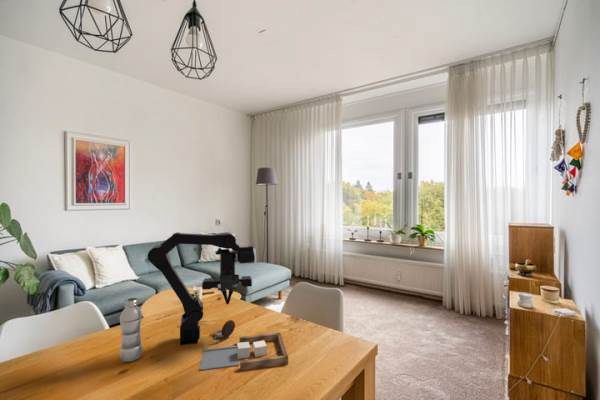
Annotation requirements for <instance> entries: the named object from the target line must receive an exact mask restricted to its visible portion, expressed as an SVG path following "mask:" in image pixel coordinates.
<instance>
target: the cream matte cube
mask: <svg viewBox="0 0 600 400" xmlns="http://www.w3.org/2000/svg"><path fill="white" fill-rule="evenodd" d="M236 346H237V352H236V353H237V359H239V360H241V359H247V358H250V357H251V345H250V344H249V342H240V343H239V342H237V343H236Z"/></svg>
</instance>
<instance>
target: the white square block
mask: <svg viewBox="0 0 600 400" xmlns="http://www.w3.org/2000/svg"><path fill="white" fill-rule="evenodd" d="M252 352H253V355H254V357H255V358H258V357H262V356H267V355H268V345H267V342H265V341H264V340H263V341H257V342H253V343H252Z"/></svg>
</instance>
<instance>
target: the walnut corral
mask: <svg viewBox="0 0 600 400" xmlns="http://www.w3.org/2000/svg"><path fill="white" fill-rule="evenodd" d="M238 338H239V340H238V343H240V342H249V345H250V344H253V342H257V341H263V340H264V341H265V343H267V342H275V341H276V342H277V343H278V346H279V350H280V354H281V355H279V356H277V355H276V356H270V357H260V358H253V359H244V360H239V370H240V371H244V370H245V371H246V370H254V369H261V368H262V369H263V368H269V367H276V366H277V367H278V366H285V365H289V355H288V351H287V349H286V346H285V343H284V340H283V336H282V334H281V332H274V333H265V334H264V333H263V334H254V335H244V336H239V337H238Z"/></svg>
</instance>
